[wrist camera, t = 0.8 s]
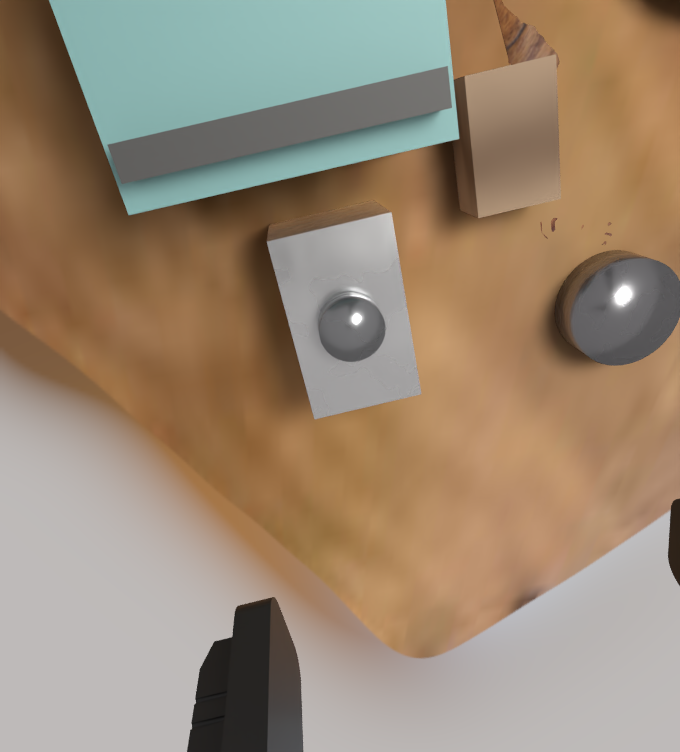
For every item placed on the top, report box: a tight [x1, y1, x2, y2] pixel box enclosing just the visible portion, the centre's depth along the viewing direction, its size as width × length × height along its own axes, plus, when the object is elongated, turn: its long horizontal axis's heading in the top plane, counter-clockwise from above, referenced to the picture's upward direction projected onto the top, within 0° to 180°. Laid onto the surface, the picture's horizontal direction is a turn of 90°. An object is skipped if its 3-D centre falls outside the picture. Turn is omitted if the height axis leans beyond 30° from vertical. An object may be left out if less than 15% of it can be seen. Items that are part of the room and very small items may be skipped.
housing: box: [267, 200, 421, 419], centre depth 26 cm, size 9×6×6 cm, turn 12°
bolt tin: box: [555, 250, 680, 365], centre depth 30 cm, size 6×6×2 cm
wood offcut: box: [452, 54, 561, 218], centre depth 25 cm, size 6×4×3 cm, turn 12°
